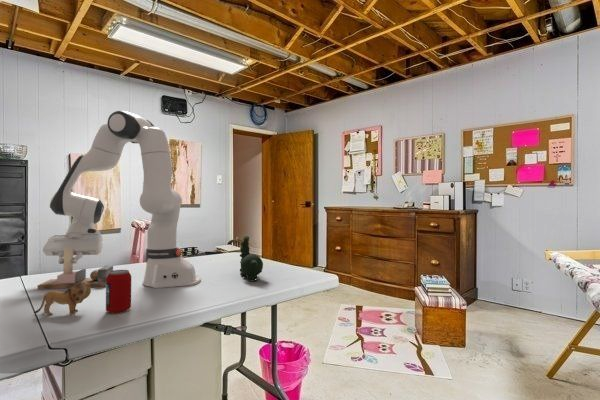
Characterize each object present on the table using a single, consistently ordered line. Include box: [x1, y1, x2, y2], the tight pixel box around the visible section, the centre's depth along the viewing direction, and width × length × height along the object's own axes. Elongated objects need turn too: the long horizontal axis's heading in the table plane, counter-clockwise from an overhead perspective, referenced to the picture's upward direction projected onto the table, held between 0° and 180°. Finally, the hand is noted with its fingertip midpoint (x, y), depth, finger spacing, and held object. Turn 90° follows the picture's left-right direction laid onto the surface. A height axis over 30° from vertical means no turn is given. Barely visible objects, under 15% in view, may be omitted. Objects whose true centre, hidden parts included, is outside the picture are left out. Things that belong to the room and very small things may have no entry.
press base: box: [36, 265, 114, 290], centre depth 132 cm, size 24×10×6 cm, turn 102°
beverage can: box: [105, 269, 132, 315], centre depth 101 cm, size 7×7×12 cm
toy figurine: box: [239, 235, 264, 281], centre depth 147 cm, size 9×19×25 cm
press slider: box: [56, 248, 87, 284], centre depth 131 cm, size 7×8×13 cm
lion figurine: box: [33, 282, 92, 317], centre depth 99 cm, size 15×5×9 cm, turn 104°
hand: (67, 262), depth 130 cm, fingers closed on press slider, 3 cm apart
